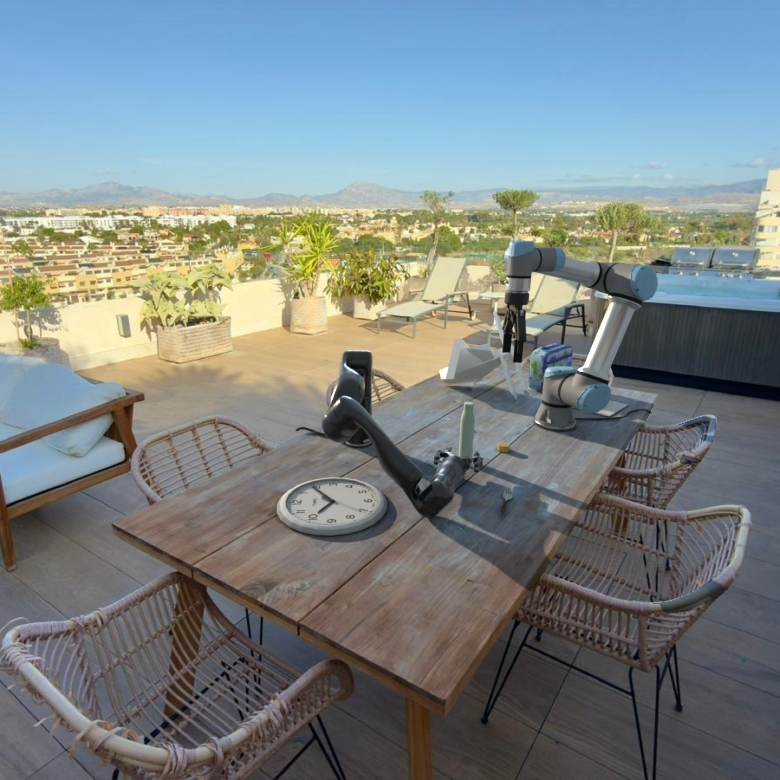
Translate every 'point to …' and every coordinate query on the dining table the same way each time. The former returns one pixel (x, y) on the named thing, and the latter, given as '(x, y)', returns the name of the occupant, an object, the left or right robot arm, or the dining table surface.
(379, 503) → the wall clock
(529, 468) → the dining table surface
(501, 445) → the cap
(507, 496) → the fork
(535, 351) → the lunch box
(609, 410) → the invitation card
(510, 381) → the white plastic object
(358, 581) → the dining table surface
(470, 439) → the bottle
